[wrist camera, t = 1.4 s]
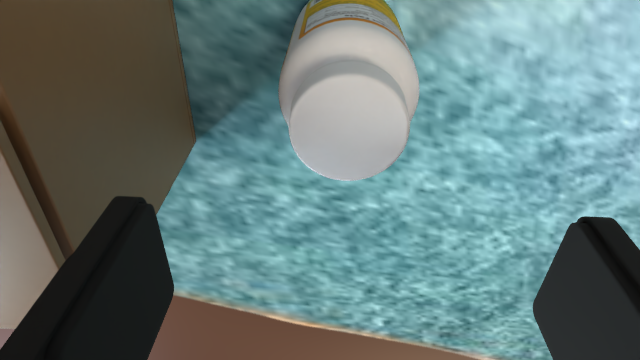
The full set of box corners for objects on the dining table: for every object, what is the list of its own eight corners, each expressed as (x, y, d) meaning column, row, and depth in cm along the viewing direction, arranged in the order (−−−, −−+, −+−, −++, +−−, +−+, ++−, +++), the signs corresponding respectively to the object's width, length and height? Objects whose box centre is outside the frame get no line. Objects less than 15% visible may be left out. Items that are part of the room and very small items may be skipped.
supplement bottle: (354, 107, 24) (360, 221, 16) (273, 50, 22) (236, 146, 14) (422, 28, 21) (469, 119, 13) (336, -43, 20) (333, 12, 12)
